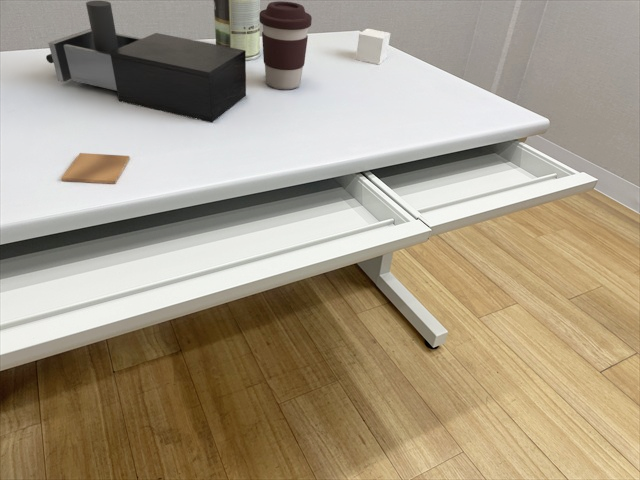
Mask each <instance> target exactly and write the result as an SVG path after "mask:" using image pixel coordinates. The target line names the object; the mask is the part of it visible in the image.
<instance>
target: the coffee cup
mask: <svg viewBox="0 0 640 480" xmlns="http://www.w3.org/2000/svg"><path fill="white" fill-rule="evenodd" d="M305 9H306V8H305V7H304V5H302V4H301V3H297V2H293V1H285V0H284V1H281V0H279V1H272V2H268V4H267V6H266V8H265V9H263V10H260V16H259V20H260V24H261V25H262V32H261V38H262V39H261V40H262V54H263V55H262V56H263V57H262V59H263V64H264V74H265V75H264V77H265V84H267V86H269V87H271V88H273V89H276V90H283V91H284V90H294V89H296V88H299V87H300V85H301V84H302V78H303V70H304V69H303V68H304V66H305V61H306V56H307V55H306V53H307V46H308V39H309V35H308V30H309V28H310V27H311V26H312V18H313V17H312V15H311V14H310V13H308V12H306V10H305Z"/></svg>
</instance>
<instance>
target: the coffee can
mask: <svg viewBox="0 0 640 480" xmlns="http://www.w3.org/2000/svg"><path fill="white" fill-rule="evenodd" d="M260 12H261V0H213V14H214V15H213V17H214V32H215V45H221V46H226V47H231V48H236V49H241V50H245V51H246V54H245V55H246V62H247V61H252V60H256V59H258V58H259V57H260V55H261V52H260V51H261V50H260V49H261V46H260V45H261V44H260V43H261V23H260V20H259V16H260Z"/></svg>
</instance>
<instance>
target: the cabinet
mask: <svg viewBox="0 0 640 480" xmlns="http://www.w3.org/2000/svg"><path fill="white" fill-rule="evenodd" d="M141 38H142V39H140V40H138V41H135V42H133V43H130V44H128V45H125V46H123V47H120V48H118V49H116V50H113V51H111V52H110V56H111V61H112V66H113V72H114V77H115V82H116V88H117V91H116V92H117V99H118V101H119V102H122V101H123V102H122V103H126V102H127V104H130V103H131V105H135V106H139V105H140V106H139V107H143V106H144V108H148V109H152V108H153V109H152V110H156V109H157V111H160V110H162V111H161V112H165V111H166V112H165V113H169V112H170V114H173V113H174V115H178V116H182V115H183V116H182V117H186V116H187V117H186V118H191V117H192V118H191V119H195V118H197V119H196V120H199V119H201V120H200V121H204V122H208V123H213V122H215V121H216V120H217V119H219V118H220V117H221V116H223V115H224V114H225V113H226V112H228V111H229V110H230V109H231V108H233V107H234V106H235V105H236V104H238V103H239V102H241V101H242V100H243V99H244V98H246V97H247V67H246V66H247V63H246V62H247V61H246V55H245V54H246V51H245V50H241V49H236V48H231V47H226V46H221V45H216V43H215V44H214V43H209V42H204V41H201V40H196V39H190V38H185V37H179V36H174V35H170V34H164V33H158V32H155V33H152V34H150V35H148V36H145V37H141ZM218 117H219V118H218Z"/></svg>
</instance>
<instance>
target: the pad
mask: <svg viewBox="0 0 640 480" xmlns="http://www.w3.org/2000/svg"><path fill="white" fill-rule="evenodd" d="M130 158H131V157H130V155H124V154H123V155H121V154H120V155H119V154H107V153H106V154H104V153H103V154H102V153H86V152H80V153H78V155H77V157H76V158H75V159H74V160H73V162H72V163H71V164H70V165H69V166H68V168H67V170H66V171H65V172H64V174H63V175H62V176H61V177H60V179H61V181H62V182H74V183H75V182H76V183H92V184H110V185H116V183H117V182H118V180H119V178H120V176H121V175H122V173H123V172H124V170H125V169H126V167H127V165H128V163H129V161H130V160H131V159H130Z"/></svg>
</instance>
